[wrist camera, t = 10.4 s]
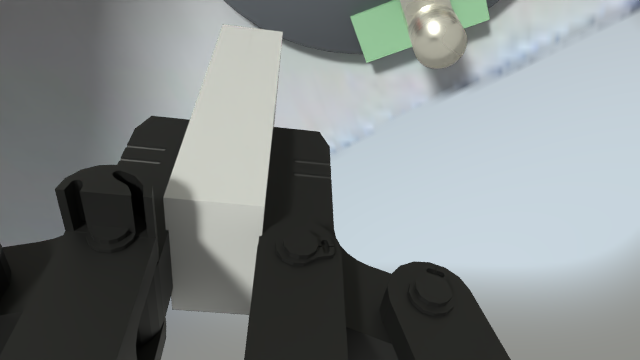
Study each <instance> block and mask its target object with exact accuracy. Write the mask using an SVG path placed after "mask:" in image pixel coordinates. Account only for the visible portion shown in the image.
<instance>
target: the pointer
mask: <svg viewBox="0 0 640 360" xmlns="http://www.w3.org/2000/svg"><path fill="white" fill-rule="evenodd" d="M400 3H401V13H402V16H403V19H404V22H405V25H406V28H407V31H408V34H409V37H410V41H411V44H412V47H413V50H414V53H415V56H416V58H417V59H418V61H419V62H420V63H421V64H423V65H424V66H426V67H429V68H433V69H441V68H445V67H448V66H451V65H452V64H454V63H455V62H457V61H458V60H459V59H460V58H461V56H462V55H463V53H464V51H465V49H466V46H467V34H466V32H465V30H464V28H463V26H462V24H461V22H460V21H459V19H458V17H457V15H456V14H455V12H454V10H453V8H452V6H451V2H450V0H400Z"/></svg>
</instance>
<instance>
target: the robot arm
mask: <svg viewBox="0 0 640 360" xmlns="http://www.w3.org/2000/svg"><path fill="white" fill-rule="evenodd" d="M282 35H283V32H280V31H272V30H264V29H256V28H248V27H240V26H232V25H224V24H223V26H222V29H221V32H220V34H219V37H218V40H217V43H216V46H215V49H214V52H213V55H212V58H211V61H210V63H209V66H208V69H207V72H206V75H205V78H204V81H203V84H202V87H201V89H200V92H199V95H198V98H197V101H196V104H195V107H194V110H193V113H192V116H191V118H190V120H186V119H177V118H167V117H158V116H151V117H150V118H149V119H147V120H146V121H145V122H143V123H142V124H141V125H139V126H138V127H137V128H135V130H134V132H133V134H132V136H131V138H130V140H129V142H128V144H127V148H125V150H124V152H123V154H122V156H121V161H119V162H118V164H117V165H99V166H95V167H91V168H87V169H82V170H80V171H78V172H76V173H74V174H72V175H70V176H68V177H67V178H65V179H64V180H63V181H62V182H61V183H60V184H59V185H58V186H57V187H56V189H55V192H56V196H57V200H58V203H59V207H60V211H61V215H62V219H63V223H64V227H65V230H66V231H65V233H64V235H63V236H60V237H57V238H55V239H50V240H46V241H42V242H36V243H29V244H23V245H16V246H9V247H3V248H2V246H1V244H0V360H160V359H161V356H162V351H163V348H164V344H165V340H166V318H165V316H166V312H167V308H168V305H169V301H170V297H171V299H172V309H173V310H186V311H203V312H216V313H230V314H246V315H249V323H248V324H249V325H248V332H247V341H246V350H245V358H244V360H511V359H510V358H509V356H508V354H507V353H506V351H505V349H504V347H503V346H502V344H501V343H500V341H499V339H498V337H497V336H496V334H495V332H494V330H493V329H492V327H491V325H490V324H489V322H488V320H487V319H486V317H485V315H484V313H483V312H482V310H481V308H480V307H479V305H478V303H477V302H476V300H475V298H474V296H473V295H472V293H471V291H470V290H469V288H468V287H467V286H466V285H465V284H464V282H463V281H462V280H461V279H460V278H459V277H458V276H456V275H455V274H454V273H452V272H451V271H449V270H448V269H446V268H444V267H441V266H438V265H435V264H432V263H429V262H411V263H408V264H405V265H401V266H400V267H398V268H397V269H396V270H395V271H394V272H393V273H392V274H391V273H388V272H385V271H382V270H379V269H376V268H373V267H371V266H368V265H366V264H364V263H362V262H359V261H357V260H356V259H355V258H353V257H352V256H350V255H349V254H348V253H347V252H346V251H345V250H344V249H343V248H342V247H341V246H340V244H339V242H338V240H337V239H336V236H335V232H334V222H333V204H332V184H331V166H330V147H329V145H328V144H327V142H326V141H325V139H324V138H323V136H322V135H321V134H320V132H317V131H307V130H297V129H288V128H278V127H274V122H275V111H276V100H277V89H278V78H279V67H280V57H281V46H282Z"/></svg>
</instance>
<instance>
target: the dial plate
mask: <svg viewBox="0 0 640 360" xmlns="http://www.w3.org/2000/svg"><path fill="white" fill-rule="evenodd" d="M224 1H225V2H226V3H227V4H229V5H230V6H231V7H232V8H233V9H235V10H236V11H237V12H238V13H239V14H241V15H242V16H244V17H245V18H247V19H249V20H250V21H252V22H253V23H255V24H256V25H258V26H259V27H261V28H263V29H265V30H272V31H280V32H283V35H282V38H283V39H286V40H289V41H292V42H294V43H297V44H300V45H303V46H306V47H310V48H315V49H320V50H324V51H329V52H339V53H351V54H361V53H363V54H364V57H365V60H366V63H368V62H370V61H373V60H376V59H379V58H382V57H385V56H388V55H390V54H393V53H396V52H399V51H402V50H405V49H407V48H410V47H412V44H411V41H410V37H409V34H408V31H407V28H406V25H405V22H404V19H403V16H402V13H401V3H400V0H224ZM498 1H499V0H450V2H451V6H452V8H453V10H454V12H455V14H456V15H457V17H458V19H459V21H460V22H461V24H462V26H463V28H467V27H470V26H473V25H476V24H478V23H481V22H484V21H487V20H490V18H489V13H488V8H490V7H491V6H492V5H494V4H495V3H497V2H498Z"/></svg>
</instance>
